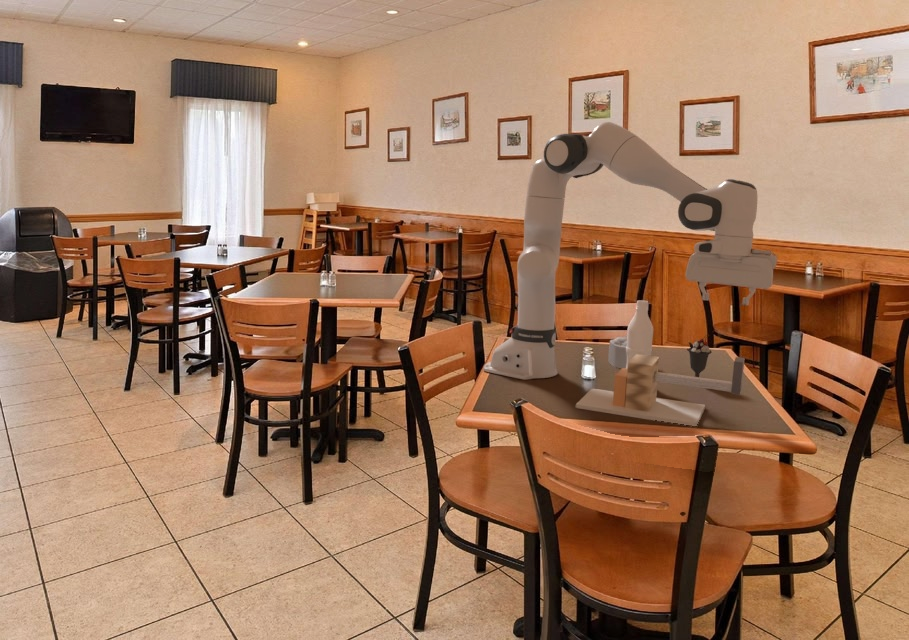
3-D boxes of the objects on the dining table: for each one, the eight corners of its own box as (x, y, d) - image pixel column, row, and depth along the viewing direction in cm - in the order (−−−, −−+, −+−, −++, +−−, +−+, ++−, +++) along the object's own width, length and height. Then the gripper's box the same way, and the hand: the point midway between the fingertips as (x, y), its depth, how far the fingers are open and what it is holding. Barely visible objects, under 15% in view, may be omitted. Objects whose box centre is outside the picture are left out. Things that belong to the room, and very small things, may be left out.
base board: (575, 407, 184) (575, 404, 183) (591, 391, 198) (592, 388, 198) (696, 427, 171) (697, 423, 171) (704, 408, 185) (705, 404, 185)
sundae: (713, 386, 205) (718, 335, 202) (693, 387, 203) (697, 336, 200) (699, 380, 212) (704, 330, 209) (680, 381, 210) (684, 331, 207)
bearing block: (624, 408, 181) (628, 362, 179) (633, 397, 190) (636, 354, 187) (648, 411, 178) (652, 365, 176) (656, 401, 187) (659, 357, 185)
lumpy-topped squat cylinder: (635, 360, 234) (637, 334, 232) (651, 370, 221) (653, 343, 220) (604, 360, 232) (606, 334, 231) (619, 371, 220) (621, 344, 218)
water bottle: (641, 392, 198) (648, 304, 193) (618, 386, 203) (624, 300, 198) (653, 386, 204) (660, 301, 199) (631, 381, 208) (636, 297, 203)
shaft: (639, 380, 181) (641, 350, 179) (643, 376, 185) (645, 346, 184) (739, 394, 171) (743, 362, 169) (741, 389, 175) (744, 357, 173)
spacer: (612, 405, 183) (614, 375, 182) (620, 396, 190) (622, 368, 189) (624, 406, 182) (626, 376, 180) (631, 398, 189) (633, 369, 187)
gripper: (779, 250, 173) (771, 306, 175) (692, 242, 181) (685, 295, 184) (777, 252, 167) (769, 309, 170) (687, 244, 176) (681, 299, 179)
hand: (725, 302), depth 177 cm, fingers open, 8 cm apart
